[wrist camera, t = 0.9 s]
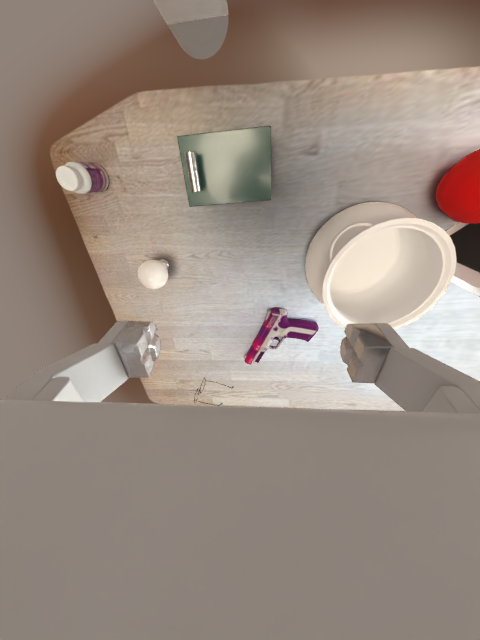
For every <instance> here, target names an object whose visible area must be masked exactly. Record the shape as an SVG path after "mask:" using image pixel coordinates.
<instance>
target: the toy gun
mask: <svg viewBox="0 0 480 640" xmlns="http://www.w3.org/2000/svg"><path fill="white" fill-rule="evenodd" d="M265 318H266V320H265V322H264V324H263V326H262V328H261V330H260V332H259V334H258V336H257V337H256V339H255V340H254V342H253V345H252V347H251V348H250V350H249V352H248V354H247V355H244V358H245V362H246V363H247V364H252V365H253V364H254V362H257V363H258V362H259V361H260V359H261V358H262V356H263V354H264V352H265V351H266V350H267V349H268V348H271V349H277V348H278V347H279V346H280V344H281V343H282V342H283V340H284V339H285V338H286V337H289V338H297V339H302V340H306V341H307V342H308V341H309V340H310V339H311V338H312V337H313V336H314V335H315V334H316V332H317V331H318V325H317V323H316V322H313V321H307V320H300V319H287V312H286V310H285V309H281V308H273V309H272V310H270V309H268V314H267V316H266V317H265ZM276 336H279V337H282V339H281V340H280V339H279V338H278V337H276ZM273 339H276V340H278V341H279V343H278V344H277V346H271V345H270V344H271V342H272V340H273Z"/></svg>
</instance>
